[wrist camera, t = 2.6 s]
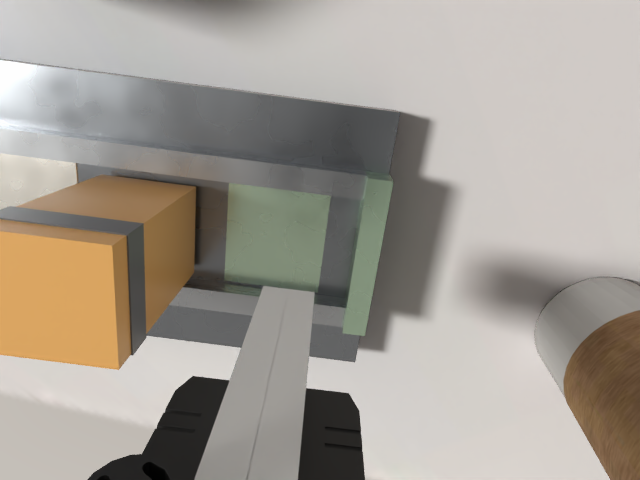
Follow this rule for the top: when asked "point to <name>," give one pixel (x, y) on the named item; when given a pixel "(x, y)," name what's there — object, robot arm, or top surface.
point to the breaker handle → (93, 268)
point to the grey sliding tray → (220, 187)
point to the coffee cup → (598, 365)
